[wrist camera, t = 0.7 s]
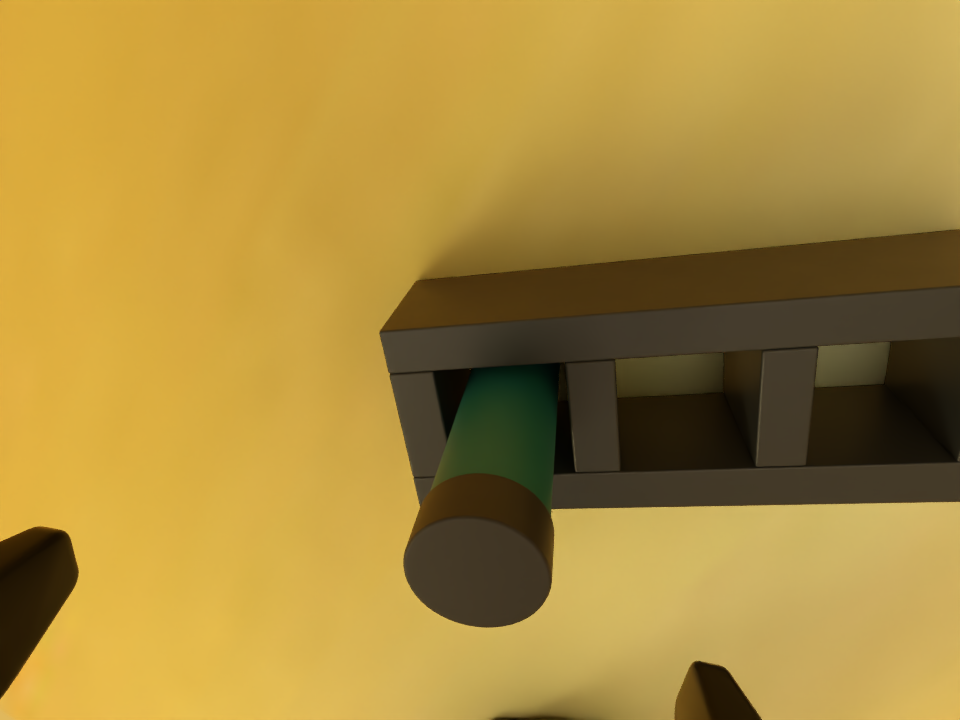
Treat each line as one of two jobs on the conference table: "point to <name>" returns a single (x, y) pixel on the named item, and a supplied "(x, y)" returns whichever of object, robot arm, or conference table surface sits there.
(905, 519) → the conference table surface
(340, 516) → the conference table surface
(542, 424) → the capped tube
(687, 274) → the organiser
